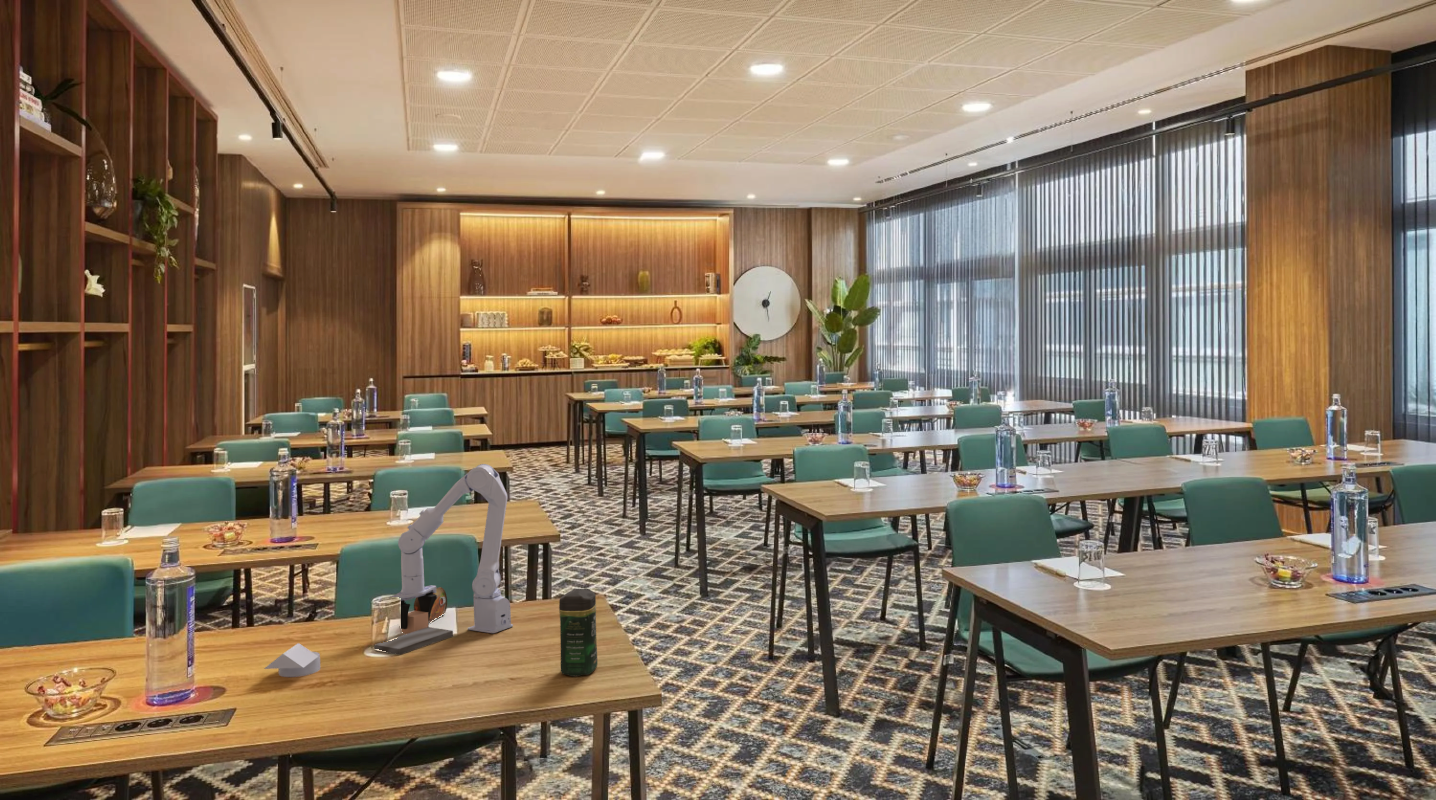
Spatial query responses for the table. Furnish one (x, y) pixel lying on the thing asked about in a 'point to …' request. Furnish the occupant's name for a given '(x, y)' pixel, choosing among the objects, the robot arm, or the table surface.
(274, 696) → the table surface
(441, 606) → the tin
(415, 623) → the cube
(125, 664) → the table surface
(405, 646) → the charcoal board
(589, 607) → the coffee jar
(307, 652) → the wedge on round base
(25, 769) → the table surface
